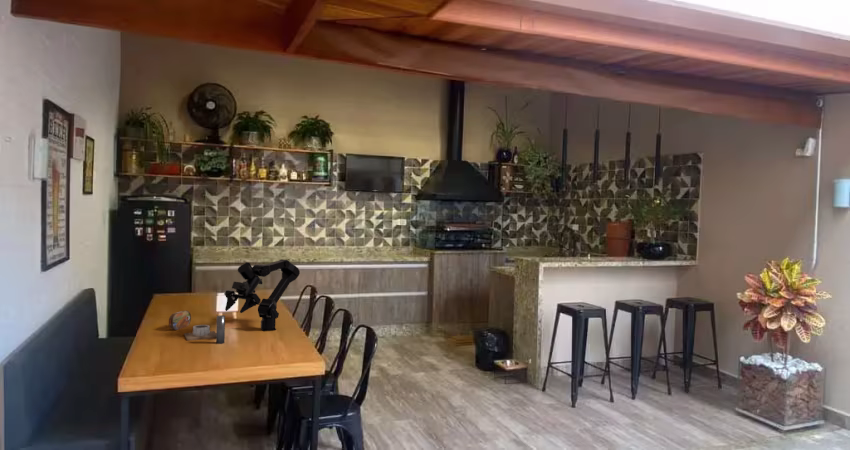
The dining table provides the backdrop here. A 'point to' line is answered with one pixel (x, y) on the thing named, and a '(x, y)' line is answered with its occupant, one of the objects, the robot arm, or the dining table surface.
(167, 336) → the dining table surface
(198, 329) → the ring
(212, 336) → the bracket plate
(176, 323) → the tin
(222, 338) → the rail post
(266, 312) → the robot arm
